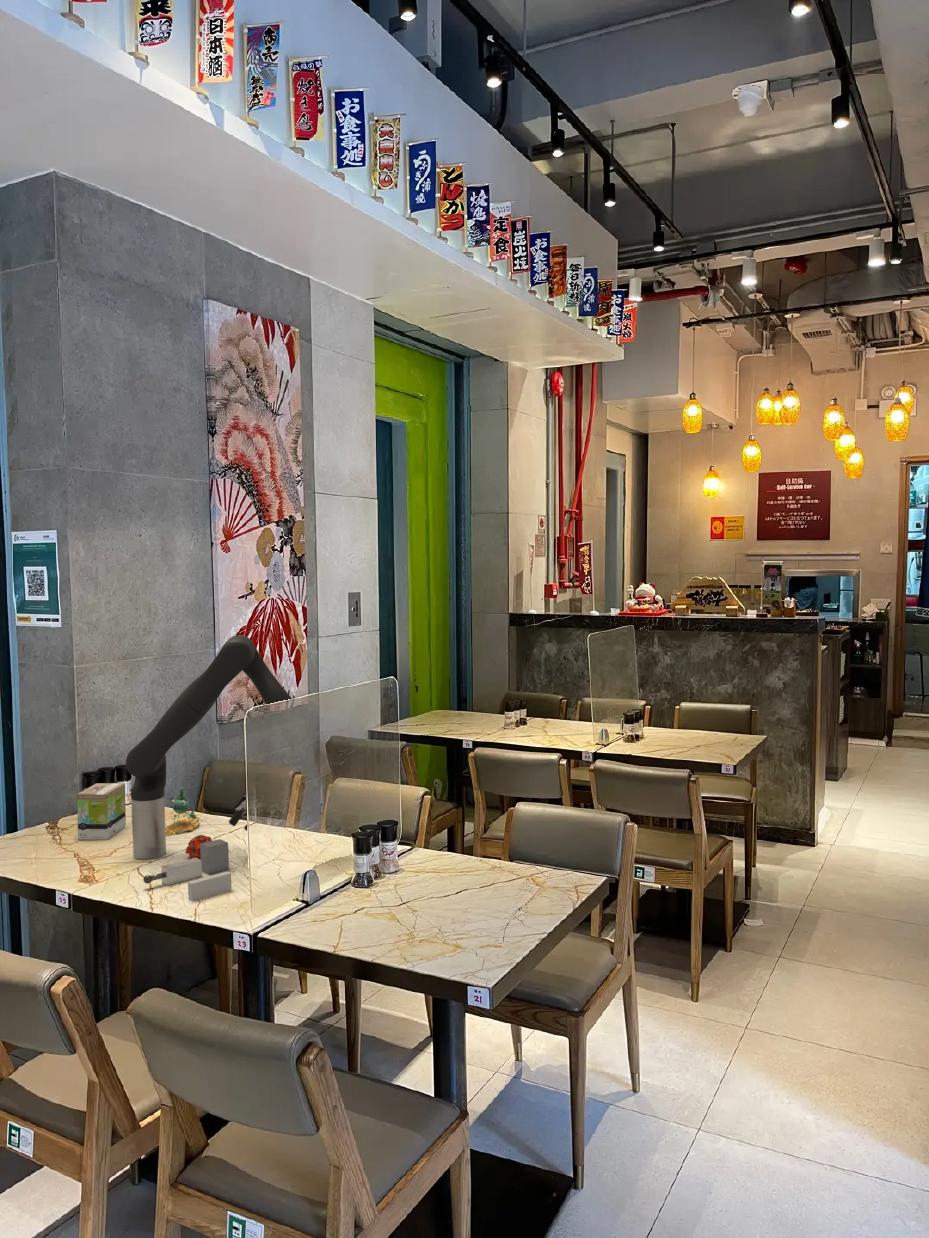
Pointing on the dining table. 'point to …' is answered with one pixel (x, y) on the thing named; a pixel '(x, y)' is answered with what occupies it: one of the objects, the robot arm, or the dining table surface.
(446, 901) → the dining table surface
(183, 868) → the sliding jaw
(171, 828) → the frog figurine
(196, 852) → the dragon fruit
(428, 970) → the dining table surface
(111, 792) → the tea box
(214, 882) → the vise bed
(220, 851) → the steel block
